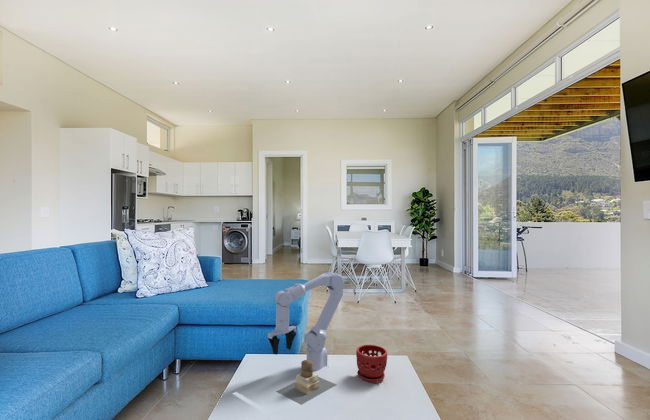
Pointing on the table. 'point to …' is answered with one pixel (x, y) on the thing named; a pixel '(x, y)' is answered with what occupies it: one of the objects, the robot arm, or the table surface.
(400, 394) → the table surface
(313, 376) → the birch top block
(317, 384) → the oak bottom block
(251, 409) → the table surface
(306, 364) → the walnut cylinder
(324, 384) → the grey base plate
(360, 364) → the plant pot
